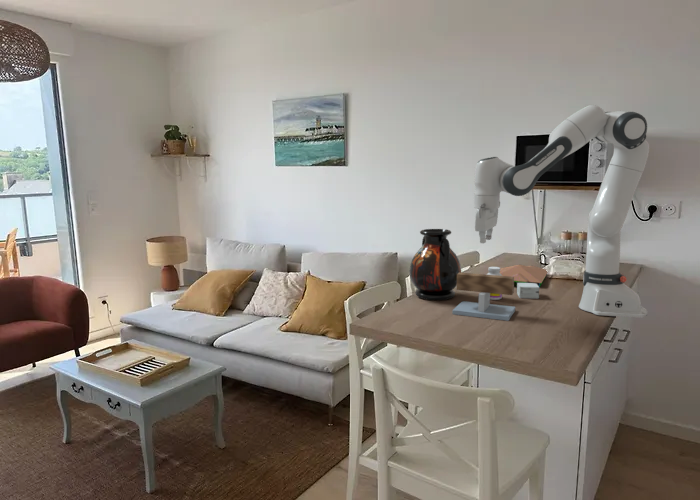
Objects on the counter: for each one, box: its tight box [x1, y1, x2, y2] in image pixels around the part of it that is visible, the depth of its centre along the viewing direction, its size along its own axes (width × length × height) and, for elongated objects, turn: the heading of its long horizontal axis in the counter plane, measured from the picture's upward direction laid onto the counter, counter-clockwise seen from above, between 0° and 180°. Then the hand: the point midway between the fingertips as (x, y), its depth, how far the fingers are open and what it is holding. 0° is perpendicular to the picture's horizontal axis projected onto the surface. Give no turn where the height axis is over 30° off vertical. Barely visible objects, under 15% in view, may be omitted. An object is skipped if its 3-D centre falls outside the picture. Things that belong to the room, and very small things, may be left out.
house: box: [499, 264, 549, 288], centre depth 232 cm, size 23×33×8 cm
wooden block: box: [456, 272, 515, 296], centre depth 180 cm, size 20×4×6 cm, turn 63°
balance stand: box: [452, 292, 516, 321], centre depth 181 cm, size 20×14×8 cm
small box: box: [516, 282, 540, 300], centre depth 204 cm, size 8×8×5 cm
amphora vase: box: [409, 228, 462, 301], centre depth 205 cm, size 22×22×28 cm
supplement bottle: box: [485, 266, 503, 301], centre depth 201 cm, size 7×7×13 cm
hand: (485, 241), depth 178 cm, fingers open, 8 cm apart
